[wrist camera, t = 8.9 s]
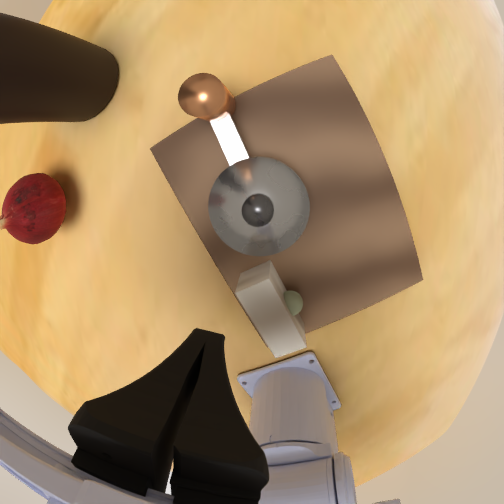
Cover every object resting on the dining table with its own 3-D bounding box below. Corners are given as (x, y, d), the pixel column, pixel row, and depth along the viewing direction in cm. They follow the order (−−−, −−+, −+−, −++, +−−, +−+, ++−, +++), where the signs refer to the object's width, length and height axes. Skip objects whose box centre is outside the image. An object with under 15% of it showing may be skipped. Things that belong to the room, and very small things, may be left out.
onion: (60, 154, 20) (-6, 167, 13) (93, 200, 21) (28, 227, 14) (34, 197, 22) (-24, 219, 14) (64, 240, 23) (7, 274, 15)
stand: (415, 272, 21) (439, 297, 17) (268, 336, 24) (265, 372, 20) (328, 60, 16) (341, 39, 12) (158, 148, 19) (129, 149, 15)
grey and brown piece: (319, 227, 19) (329, 248, 15) (237, 257, 20) (227, 285, 16) (253, 71, 15) (246, 51, 12) (170, 110, 17) (142, 103, 13)
